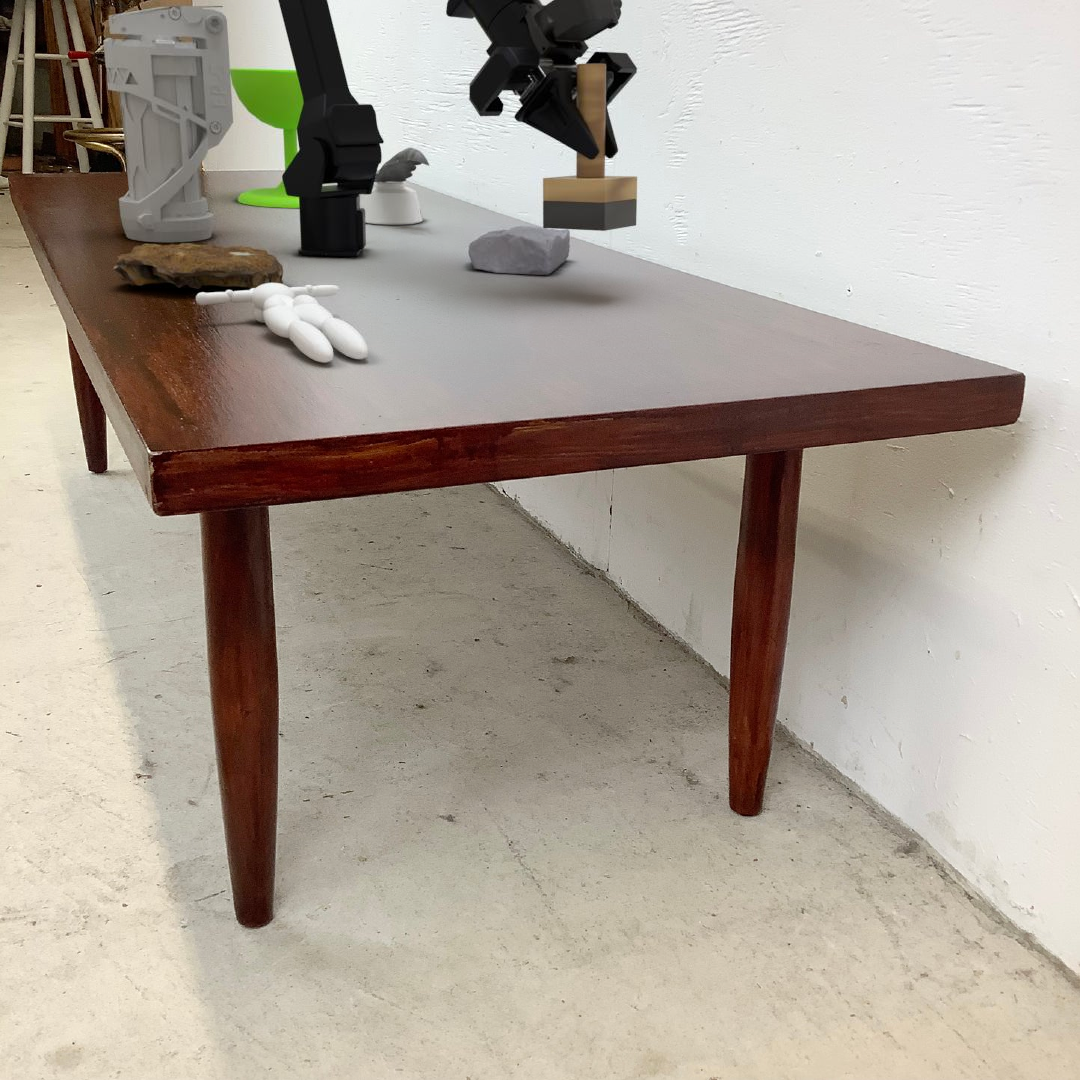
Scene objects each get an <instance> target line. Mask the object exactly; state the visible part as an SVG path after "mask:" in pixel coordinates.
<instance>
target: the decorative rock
mask: <svg viewBox="0 0 1080 1080" xmlns="http://www.w3.org/2000/svg"><path fill="white" fill-rule="evenodd" d="M115 264H116V265H114V266H113V270H114V271H115V272H116V273H117V275H118V279H119V280H122V281H124V282H127V283H129V285H130V286H133V287H134V286H145V285H155V284H157V285H158V284H162V283H163V284H172V285H174V286H175V287H177V288H182V287H183V286H188V287H189V288H192V289H198V290H200V289H201V287H202V286H205V287H206V286H215V287H224V288H225V287H226V288H227V287H239V288H247V289H249V290H250V289H252V288H256V287H258V286H260V285H262V284H266V283H280V284H284V281H283V276H284V269H283V268H284V267H283V264H282V263H280V262H279V260H278V259H277V257H276V256H275V255H272V254H270V253H268V250H266V249H259V248H257V249H256V248H252V247H251V246H242V245H238V246H235V245H232V246H231V245H230V246H226V247H224V246H219V245H216V244H214V243H213V244H210V245H208V244H207V245H206V244H194V243H191V242H180V243H179V244H175V243H171V244H166V245H165V244H164V245H160V244H156V243H146V242H145V243H143V244H142V245H134V246H133V248H132V250H131V251H130V252H129V253H123V254H120V255H118V256H116V262H115Z"/></svg>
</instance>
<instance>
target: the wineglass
mask: <svg viewBox="0 0 1080 1080" xmlns="http://www.w3.org/2000/svg"><path fill="white" fill-rule="evenodd" d="M230 79H231V86H232V87H233V89H234V91H235V93H236V96H237V98H238V100H239V102H241V104H242V105H243V107H244V108H245V109H246V110H247V112H248V113H249V114H251V115H252V116H253V117H255V118H256V119H257V120H258V121H260V122H261V123H264V124H266V125H268V126H270V127H272V128H275V129H279V130H282V132H283V134H282V135H283V152H284V153H283V154H284V155H283V156H284V171H285V170H286V169H287V168H288V166H289V165H290V163H291V162H292V160H293V159H294V157H295V156H296V154H297V153H298V136H297V126H298V122H299V118H300V114H301V111H302V107H303V103H304V102H303V96H302V92H301V88H300V84H299V80H298V76H297V72H296V69H273V68H271V69H270V68H230ZM237 202H238V203H240V204H244V205H249V206H254V207H255V206H256V207H265V208H281V209H288V208H289V209H299V197H294V196H288V195H287V194H286V191H285V187H284V183H283V180H282V179H281V182H280V183H279V184H278V185H277V186H276V187H267V188H264V187H263V188H255V189H249V190H245V191H243V192H242V193H241V194H240V195H239V196H238V198H237Z"/></svg>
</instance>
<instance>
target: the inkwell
mask: <svg viewBox="0 0 1080 1080" xmlns="http://www.w3.org/2000/svg"><path fill="white" fill-rule="evenodd" d="M422 164H423V165H426V166H430V163H429V161H428V159H427V157H426V156H425V154H424V153H423V152H422V151H421V150H420V149H419V150H418V149H417V148H414V147H407V148H405V149H402V150H400V151H399V152H397V153H396V154H395V155H393V156H392V157H391V158H390V159H388V160H387V161H385V163H383V164H382V166H381V167H380V169H378V170H377V173H376V177H375V181H374V185H373V189H372V193H371V194H369V195H366V194H360V208H364V209H365V223H366V224H372V225H373V224H374V225H389V226H390V225H393V226H395V225H398V226H399V225H414V224H419V223H422V221H423V220H424V218H423V217H424V216H423V213H422V209H421V205H420V201H419V197H418V194H417V191H416V190H415V189H414V188H411V187H408V186H406V182H407V179H409V178H411V177H413V175H414V174H413V173H412V172H415V171H416V170H417V166H420V165H422Z"/></svg>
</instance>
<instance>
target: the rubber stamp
mask: <svg viewBox="0 0 1080 1080" xmlns="http://www.w3.org/2000/svg"><path fill="white" fill-rule="evenodd" d="M577 107H578V109H579V111H580V113H581V115H582V117H583V118H584V120H585V122H586V124H587V126H588V128H589V129H590V131H591V133H592V135H593V137H594V139H595V141H596V143H597V146H598V148H599V150H600V153H599V154H598V156H597V157H596V158H595V159H593V160H590V159H588V158H587V157H585V156H583V155H581V154H580V153H578V152H576V160H575V162H576V166H575V167H576V168H575V169H576V171H575V172H576V173H575V174H576V175H564V176H553V177H543V178H542V228H543V229H554V230H567V229H568V230H577V231H596V232H597V231H599V232H606V231H612V230H617V229H623V228H629V227H634V226H637V212H638V211H637V208H638V207H637V205H638V196H637V195H638V176H634V175H633V176H632V175H606V156H605V120H606V64H586V63H578V64H577Z"/></svg>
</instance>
